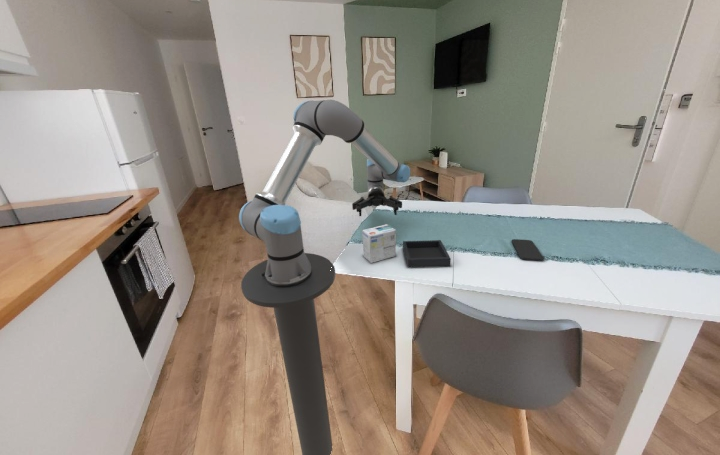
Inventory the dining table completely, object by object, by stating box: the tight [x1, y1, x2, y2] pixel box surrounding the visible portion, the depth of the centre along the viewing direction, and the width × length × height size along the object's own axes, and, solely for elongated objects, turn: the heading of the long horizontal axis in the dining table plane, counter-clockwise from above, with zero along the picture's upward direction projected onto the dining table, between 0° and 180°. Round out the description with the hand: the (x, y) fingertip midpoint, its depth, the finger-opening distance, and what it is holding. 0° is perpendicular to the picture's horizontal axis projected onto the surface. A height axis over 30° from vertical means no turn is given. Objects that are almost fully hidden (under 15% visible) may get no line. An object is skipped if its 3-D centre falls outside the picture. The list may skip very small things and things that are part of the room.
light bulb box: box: [361, 223, 397, 264], centre depth 105 cm, size 11×7×11 cm, turn 116°
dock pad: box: [402, 239, 452, 268], centre depth 105 cm, size 14×14×3 cm
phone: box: [511, 238, 545, 262], centre depth 106 cm, size 7×1×15 cm
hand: (377, 212), depth 111 cm, fingers open, 13 cm apart
